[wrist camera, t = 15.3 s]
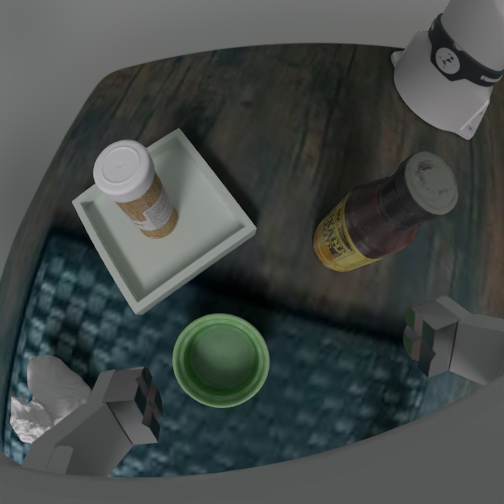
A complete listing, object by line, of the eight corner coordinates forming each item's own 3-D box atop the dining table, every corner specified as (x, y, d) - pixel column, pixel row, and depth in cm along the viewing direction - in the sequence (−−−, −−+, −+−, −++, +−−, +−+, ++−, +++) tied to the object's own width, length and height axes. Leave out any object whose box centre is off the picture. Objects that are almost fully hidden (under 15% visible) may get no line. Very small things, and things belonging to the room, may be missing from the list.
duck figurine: (55, 356, 33) (-16, 391, 24) (69, 332, 30) (-17, 370, 20) (111, 437, 32) (45, 483, 22) (134, 426, 28) (55, 483, 18)
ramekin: (265, 313, 34) (269, 312, 30) (265, 396, 32) (270, 407, 28) (179, 313, 34) (171, 312, 29) (181, 396, 32) (173, 406, 27)
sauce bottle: (312, 215, 36) (383, 113, 17) (363, 224, 36) (464, 141, 17) (306, 272, 35) (386, 215, 16) (359, 280, 35) (475, 235, 16)
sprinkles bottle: (131, 222, 34) (80, 170, 21) (159, 192, 35) (123, 127, 22) (159, 248, 34) (116, 206, 21) (187, 217, 35) (162, 159, 22)
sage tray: (181, 138, 38) (178, 127, 35) (255, 234, 36) (256, 228, 33) (80, 208, 35) (71, 201, 33) (142, 314, 33) (135, 314, 31)
